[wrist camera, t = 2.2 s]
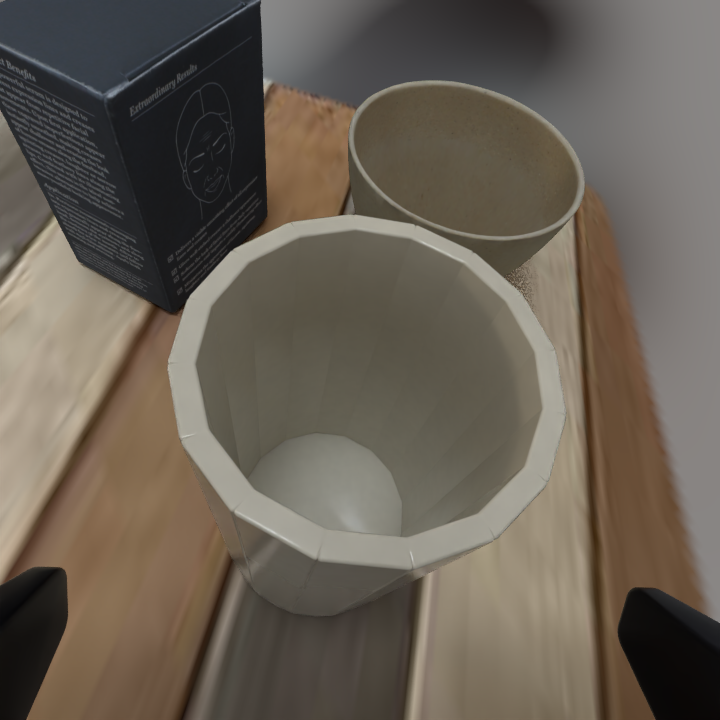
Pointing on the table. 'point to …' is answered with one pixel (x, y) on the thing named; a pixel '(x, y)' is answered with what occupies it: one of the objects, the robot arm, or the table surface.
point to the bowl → (464, 168)
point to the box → (141, 130)
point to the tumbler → (361, 407)
